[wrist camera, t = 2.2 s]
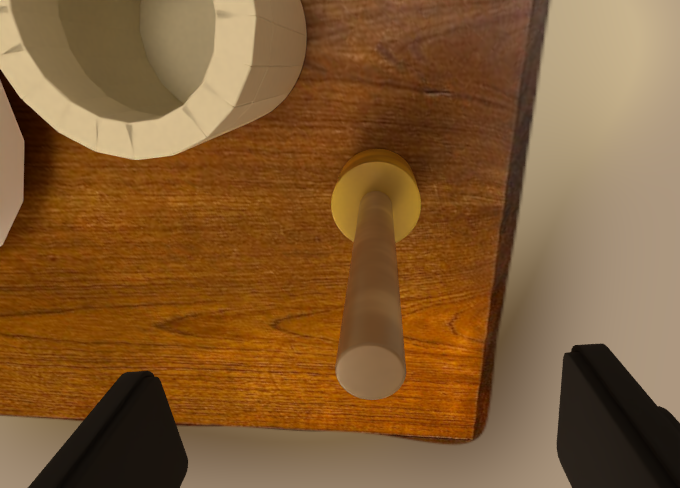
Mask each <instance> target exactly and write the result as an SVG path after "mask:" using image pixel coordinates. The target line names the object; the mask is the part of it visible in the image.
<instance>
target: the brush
mask: <svg viewBox="0 0 680 488" xmlns="http://www.w3.org/2000/svg"><path fill="white" fill-rule="evenodd" d="M331 211H332V215H333V218H334V221H335V223H336V225H337V227H338V228H339V230H340V231H341V232H342V233H343V234H344V235H345V236H346V237H347V238H348V239H350V240H352V241H353V242H354V245H353V252H352V259H351V265H350V272H349V279H348V286H347V292H346V299H345V306H344V312H343V319H342V326H341V333H340V339H339V346H338V353H337V359H336V367H335V371H336V376H337V379H338V381H339V383H340V384H341V386H342V387H343V388H344V389H345V390H346V391H347V392H349V393H350V394H352V395H354V396H356V397H359V398H362V399H369V400H375V399H382V398H385V397H388V396H390V395H392V394H393V393H395V392H396V391H397V390H398V389H399V388H400V387H401V385H402V384H403V382H404V380H405V376H406V364H405V352H404V340H403V329H402V317H401V305H400V294H399V282H398V270H397V258H396V247H395V243H397V242H399V241H400V240H402V239H403V238H405V237H406V236H407V235H408V234H409V233H410V232H411V231H412V230H413V228H414V227H415V225H416V223H417V221H418V219H419V216H420V211H421V197H420V193H419V189H418V186H417V183H416V180H415V176H414V173H413V171H412V169H411V167H410V166H409V164H408V163H407V162H406V161H405V160H404V159H403V158H402V157H401V156H399V155H398V154H396V153H394V152H392V151H389V150H386V149H378V148H377V149H368V150H365V151H362V152H360V153H357V154H356V155H354V156H353V157H352V158H350V159H349V160H348V161H347V163H346V164H345V165H344V167H343V168H342V170H341V172H340V175H339V177H338V180H337V183H336V185H335V188H334V191H333V194H332V199H331Z"/></svg>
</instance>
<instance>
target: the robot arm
mask: <svg viewBox="0 0 680 488" xmlns="http://www.w3.org/2000/svg"><path fill="white" fill-rule="evenodd" d="M557 452H558V457H559V460H560V463H561V465H562V467H563V469H564V471H565V473H566V476H567V478H568V480H569V482H570V484H571V486H572V488H680V423H679V422H678V421H677V420H676V419H675V417H674V416H673V415H672V414H671V413H670V412H669V411H667V410H666V409H664V408H662V407H660V406H659V407H658V406H657V405H656V404H655V403H654V402H653V400H652V399H651V398H650V397H649V396H648V395H647V393H646V392H645V391H644V390H643V389H642V387H641V386H640V385H639V384H638V383H637V382H636V380H635V379H634V378H633V377H632V376H631V374H630V373H629V372H628V371H627V370H626V368H625V367H624V366H623V365H622V364H621V362H620V361H619V360H618V359H617V358H616V357H615V355H614V354H613V353H612V352H611V351H610V349H609V348H608V347H607V346H606V345H604V344H588V345H575V346H573V348H572V351H571V352H570V353H565V354H564V357H563V370H562V382H561V395H560V408H559V421H558V435H557ZM187 468H188V458H187V455H186V452H185V449H184V446H183V443H182V441H181V438H180V436H179V432H178V429H177V426H176V424H175V421H174V418H173V415H172V412H171V409H170V407H169V404H168V401H167V398H166V395H165V392H164V389H163V387H162V384H161V381H160V379H159V378H158V377H154V375H153V373H151V372H150V371H139V372H126V373H124V374H122V375H121V376H120V377H119V379H118V380H117V381H116V382H115V383H114V385H113V386H112V387H111V388H110V389H109V391H108V392H107V393H106V394H105V395H104V397H103V398H102V399H101V400H100V402H99V403H98V404H97V405H96V406H95V408H94V409H93V410H92V411H91V412H90V414H89V415H88V416H87V417H86V418H85V420H84V421H83V422H82V423H81V424H80V426H79V427H78V428H77V429H76V431H75V432H74V433H73V434H72V435H71V437H70V438H69V439H68V440H67V441H66V443H65V444H64V445H63V446H62V447H61V449H60V450H59V451H58V452H57V453H56V455H55V456H54V457H53V458H52V459H51V461H50V462H49V463H48V464H47V465H46V467H45V468H44V469H43V470H42V471H41V473H40V474H39V475H38V476H37V477H36V479H35V480H34V481H33V482H32V483H31V485H30V486H29V487H28V488H180V486H181V483H182V481H183V479H184V477H185V475H186V472H187Z"/></svg>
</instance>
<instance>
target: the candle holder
mask: <svg viewBox="0 0 680 488" xmlns="http://www.w3.org/2000/svg"><path fill="white" fill-rule="evenodd" d="M23 194H24V139H23V136H22V134H21V131H20V129H19V126H18V124H17V121H16V119H15V116H14V114H13V111H12V108H11V106H10V103H9V101H8V98H7V96H6V93H5V91H4V88H3V86H2V83H1V81H0V246H1V245H3V243H4V241H5V239H6V237H7V234H8V232H9V230H10V228H11V226H12V224H13V222H14V220H15V218H16V215H17V213H18V211H19V209H20V207H21V205H22V203H23Z"/></svg>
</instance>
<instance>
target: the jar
mask: <svg viewBox="0 0 680 488" xmlns="http://www.w3.org/2000/svg"><path fill="white" fill-rule="evenodd" d="M306 42H307V31H306V20H305V16H304V11H303V7H302V4H301V1H300V0H0V69H1V71H2V72H3V74H4V75H5V77H6V78H7V79H8V81H9V82H10V84H11V85H12V87H13V88H14V90H15V91H16V92H17V94H18V95H19V97H20V98H21V99H23V101H24V102H25V103H26V104H27V105H28V106H30V107H31V108H32V109H33V110H34V111H35V112H36V113H37V114H38V115H40V116H41V117H42V118H43V119H44V120H45V121H46V122H47V123H48V124H50V125H51V126H52V127H53V128H54V129H55V130H57V131H58V132H59V133H61V134H63V135H65V136H67V137H68V138H70V139H72V140H74V141H76V142H78V143H80V144H82V145H84V146H86V147H87V148H89V149H91V150H93V151H96V152H99V153H104V154H109V155H114V156H119V157H124V158H129V159H133V160H134V159H135V160H140V159H149V158H157V157H165V156H173V155H176V154H178V153H180V152H183V151H185V150H187V149H190V148H192V147H194V146H197V145H199V144H201V143H204V142H206V141H208V140H211V139H213V138H215V137H218V136H220V135H222V134H224V133H227V132H229V131H231V130H234V129H236V128H238V127H241V126H243V125H245V124H248V123H250V122H252V121H254V120H256V119H258V118H260V117H262V116H264V115H266V114H268V113H270V112H271V111H273V110H274V109H275V108H276V107H277V106H278V105H279V104H280V103H281V102H282V101H283V100H284V99H285V98H286V97H287V96H288V94H289V93H290V92H291V90H292V89H293V87H294V85H295V83H296V82H297V79H298V77H299V75H300V72H301V70H302V66H303V62H304V59H305V52H306Z"/></svg>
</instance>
